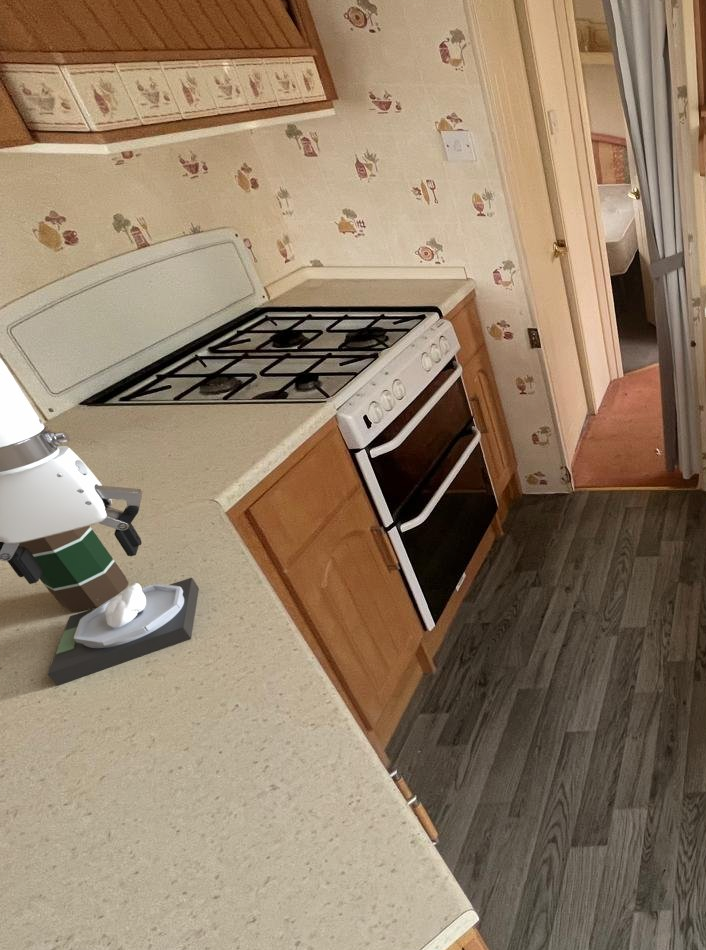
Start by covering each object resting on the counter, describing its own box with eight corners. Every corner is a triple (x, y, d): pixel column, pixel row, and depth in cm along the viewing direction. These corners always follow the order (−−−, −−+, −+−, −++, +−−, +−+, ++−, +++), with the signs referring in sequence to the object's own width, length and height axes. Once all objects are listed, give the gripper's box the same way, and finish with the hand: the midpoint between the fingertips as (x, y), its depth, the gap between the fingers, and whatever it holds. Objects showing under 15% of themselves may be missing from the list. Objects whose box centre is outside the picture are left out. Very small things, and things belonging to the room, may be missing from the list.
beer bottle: (129, 572, 108) (38, 441, 95) (131, 595, 103) (34, 461, 90) (63, 595, 103) (-42, 461, 91) (62, 621, 98) (-50, 483, 86)
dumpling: (160, 617, 94) (138, 602, 91) (116, 640, 92) (92, 625, 89) (154, 586, 98) (133, 570, 95) (112, 607, 96) (89, 591, 93)
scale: (57, 685, 88) (40, 666, 86) (78, 627, 97) (63, 608, 95) (191, 638, 94) (178, 619, 92) (199, 588, 104) (187, 570, 102)
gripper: (111, 421, 88) (173, 528, 96) (-83, 459, 79) (4, 573, 88) (99, 443, 82) (166, 555, 91) (-109, 487, 74) (-14, 605, 82)
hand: (86, 564), depth 89 cm, fingers open, 9 cm apart
